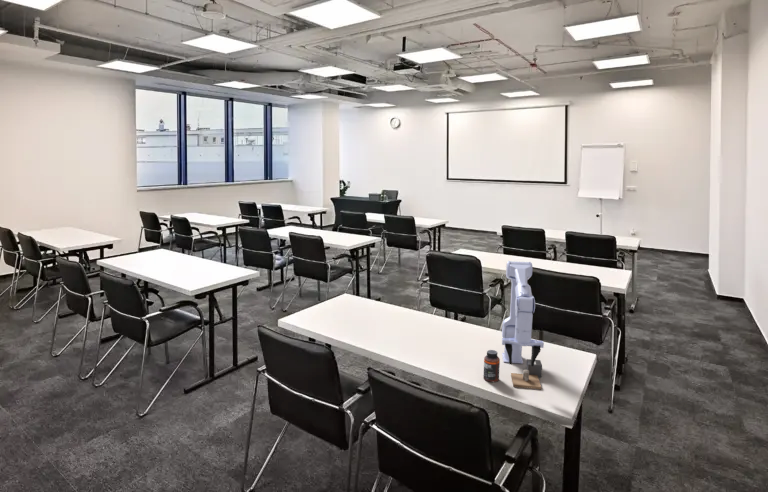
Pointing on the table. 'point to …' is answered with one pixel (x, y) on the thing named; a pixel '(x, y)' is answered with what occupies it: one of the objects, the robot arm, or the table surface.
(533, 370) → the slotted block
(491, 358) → the supplement bottle
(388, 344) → the table surface
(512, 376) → the block
